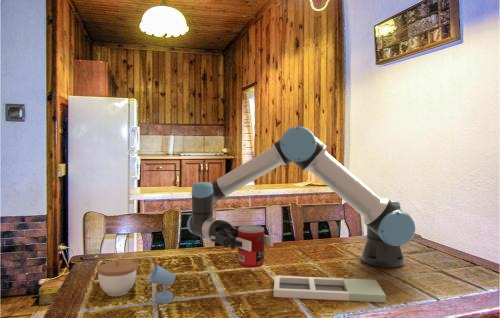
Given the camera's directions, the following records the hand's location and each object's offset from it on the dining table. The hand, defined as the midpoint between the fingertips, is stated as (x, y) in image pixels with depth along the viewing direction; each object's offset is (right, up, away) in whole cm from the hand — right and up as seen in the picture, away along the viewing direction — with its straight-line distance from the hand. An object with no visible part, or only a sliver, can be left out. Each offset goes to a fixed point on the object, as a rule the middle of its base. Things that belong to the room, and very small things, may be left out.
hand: (261, 244), depth 108 cm
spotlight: (-28, -15, -5) cm, 32 cm away
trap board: (+19, -15, +2) cm, 24 cm away
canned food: (-3, -7, +4) cm, 9 cm away
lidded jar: (-42, -14, 0) cm, 45 cm away
